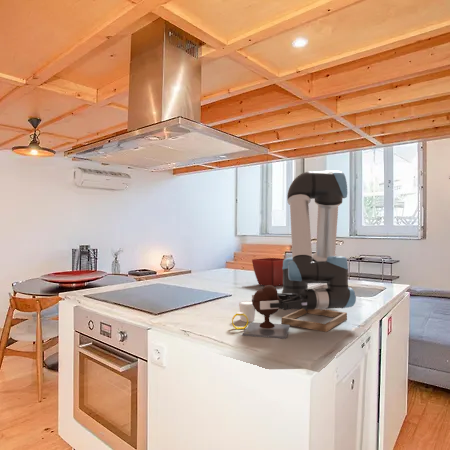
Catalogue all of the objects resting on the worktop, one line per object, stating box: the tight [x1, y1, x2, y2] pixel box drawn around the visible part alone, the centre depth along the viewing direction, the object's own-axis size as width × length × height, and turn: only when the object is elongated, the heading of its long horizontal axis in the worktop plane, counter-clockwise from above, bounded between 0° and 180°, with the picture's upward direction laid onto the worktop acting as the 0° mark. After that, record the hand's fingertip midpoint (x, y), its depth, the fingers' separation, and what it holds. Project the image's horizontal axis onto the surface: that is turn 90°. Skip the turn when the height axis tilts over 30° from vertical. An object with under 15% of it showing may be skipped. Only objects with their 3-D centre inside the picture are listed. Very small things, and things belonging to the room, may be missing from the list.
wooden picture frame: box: [280, 308, 348, 333], centre depth 136 cm, size 18×22×2 cm
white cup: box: [238, 300, 256, 323], centre depth 140 cm, size 7×7×7 cm
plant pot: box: [251, 257, 285, 287], centre depth 225 cm, size 19×19×17 cm
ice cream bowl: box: [251, 285, 280, 328], centre depth 125 cm, size 11×11×15 cm
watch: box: [231, 311, 249, 330], centre depth 127 cm, size 6×3×6 cm, turn 91°
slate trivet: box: [241, 321, 291, 340], centre depth 124 cm, size 15×15×1 cm
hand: (256, 301), depth 124 cm, fingers closed on ice cream bowl, 11 cm apart
